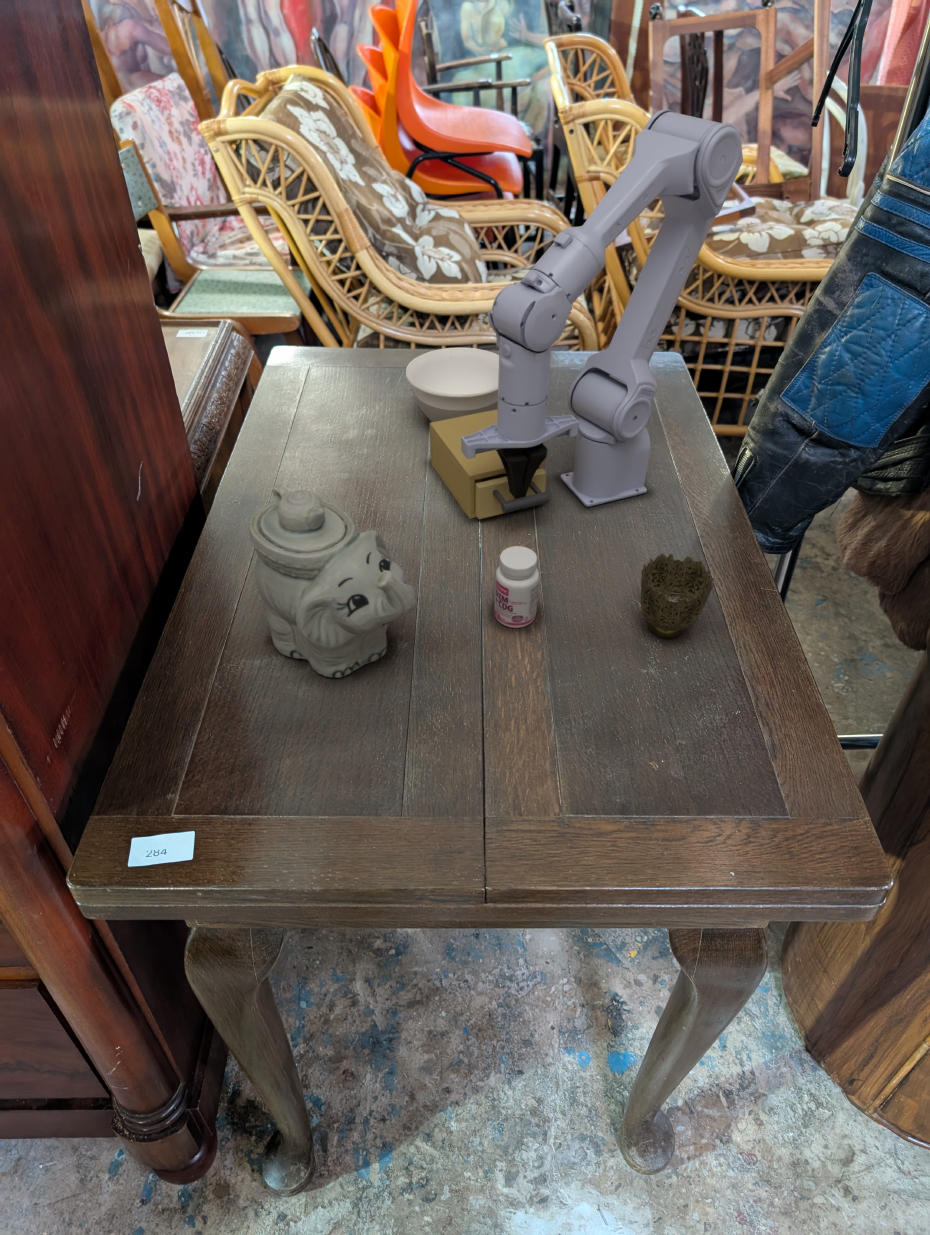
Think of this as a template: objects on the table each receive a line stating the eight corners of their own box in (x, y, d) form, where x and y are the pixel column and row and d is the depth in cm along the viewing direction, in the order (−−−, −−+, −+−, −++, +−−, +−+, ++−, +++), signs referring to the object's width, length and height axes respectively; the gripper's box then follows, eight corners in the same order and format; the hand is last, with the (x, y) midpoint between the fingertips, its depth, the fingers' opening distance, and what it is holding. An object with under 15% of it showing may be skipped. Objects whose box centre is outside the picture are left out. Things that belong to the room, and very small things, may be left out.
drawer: (559, 521, 102) (561, 490, 99) (491, 538, 100) (492, 506, 96) (502, 454, 114) (503, 424, 111) (441, 467, 112) (440, 437, 108)
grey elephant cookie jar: (423, 693, 82) (415, 548, 69) (275, 719, 79) (238, 573, 66) (397, 591, 93) (386, 451, 81) (267, 610, 91) (234, 469, 78)
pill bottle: (488, 623, 89) (489, 564, 84) (502, 597, 93) (504, 539, 87) (528, 633, 88) (532, 575, 82) (541, 607, 91) (546, 549, 86)
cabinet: (542, 501, 107) (545, 459, 102) (469, 519, 104) (469, 476, 100) (498, 449, 117) (499, 408, 112) (431, 463, 114) (429, 422, 110)
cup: (703, 615, 90) (718, 560, 85) (695, 659, 85) (710, 604, 80) (637, 601, 92) (648, 546, 87) (625, 643, 87) (636, 588, 81)
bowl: (419, 454, 116) (416, 400, 110) (400, 403, 127) (396, 352, 121) (523, 441, 119) (526, 388, 113) (495, 392, 130) (497, 342, 124)
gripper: (563, 369, 96) (554, 466, 105) (451, 390, 92) (452, 489, 101) (591, 395, 91) (579, 494, 100) (474, 418, 87) (473, 520, 96)
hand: (517, 494), depth 100 cm, fingers closed
